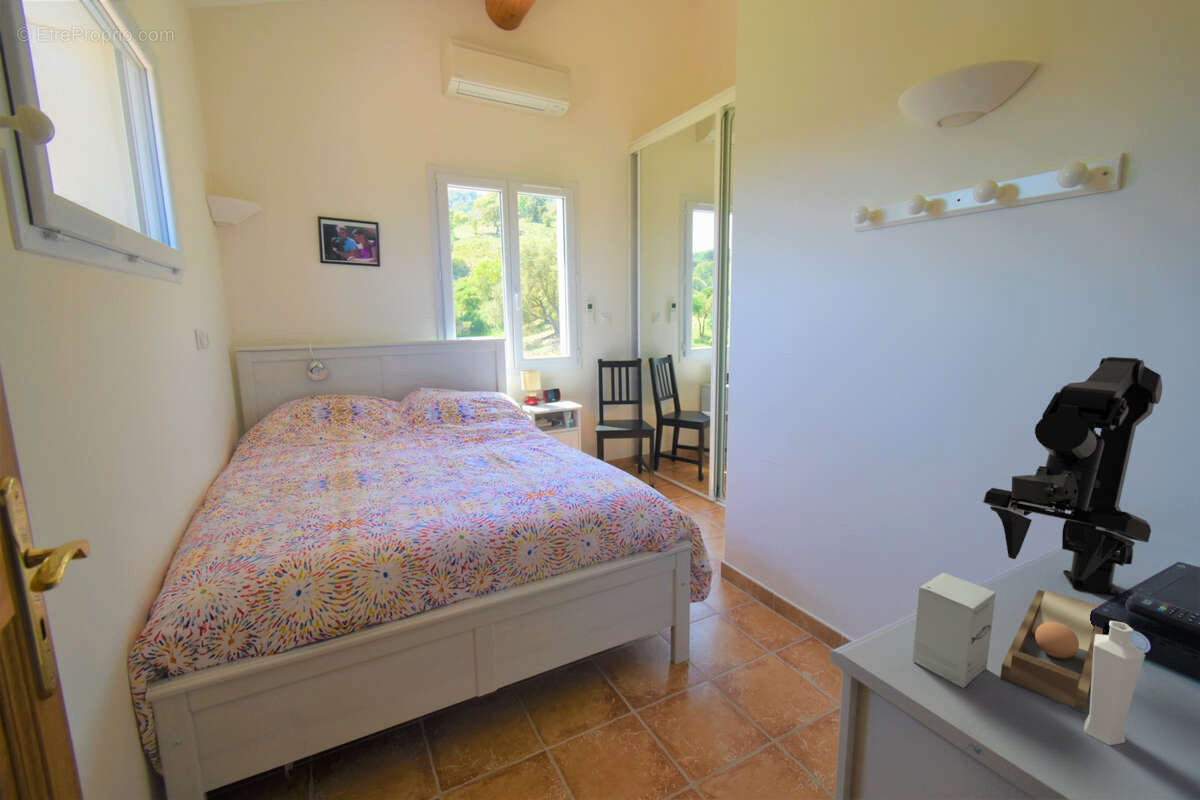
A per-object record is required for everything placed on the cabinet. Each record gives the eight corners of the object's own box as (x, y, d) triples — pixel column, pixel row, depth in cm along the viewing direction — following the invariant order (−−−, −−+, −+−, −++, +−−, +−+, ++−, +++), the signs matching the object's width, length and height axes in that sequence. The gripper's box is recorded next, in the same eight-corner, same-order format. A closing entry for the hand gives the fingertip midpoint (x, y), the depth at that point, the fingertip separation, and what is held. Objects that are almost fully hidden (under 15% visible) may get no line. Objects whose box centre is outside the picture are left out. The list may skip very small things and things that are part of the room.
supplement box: (964, 690, 74) (973, 609, 72) (910, 661, 80) (916, 585, 78) (988, 669, 78) (997, 591, 76) (935, 642, 84) (942, 570, 82)
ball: (1029, 640, 83) (1033, 612, 82) (1070, 649, 81) (1074, 619, 80) (1038, 660, 79) (1042, 630, 78) (1081, 669, 77) (1086, 639, 76)
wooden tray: (1036, 603, 94) (1039, 579, 93) (1105, 624, 87) (1109, 599, 86) (1000, 680, 76) (1003, 652, 75) (1083, 715, 70) (1088, 684, 69)
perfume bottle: (1085, 740, 65) (1102, 632, 63) (1074, 715, 69) (1089, 612, 66) (1135, 754, 63) (1155, 642, 60) (1120, 727, 67) (1139, 621, 64)
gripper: (973, 444, 86) (947, 537, 84) (1115, 459, 68) (1084, 577, 67) (1018, 464, 89) (994, 554, 88) (1165, 484, 71) (1137, 596, 70)
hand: (1044, 568), depth 78 cm, fingers open, 9 cm apart
